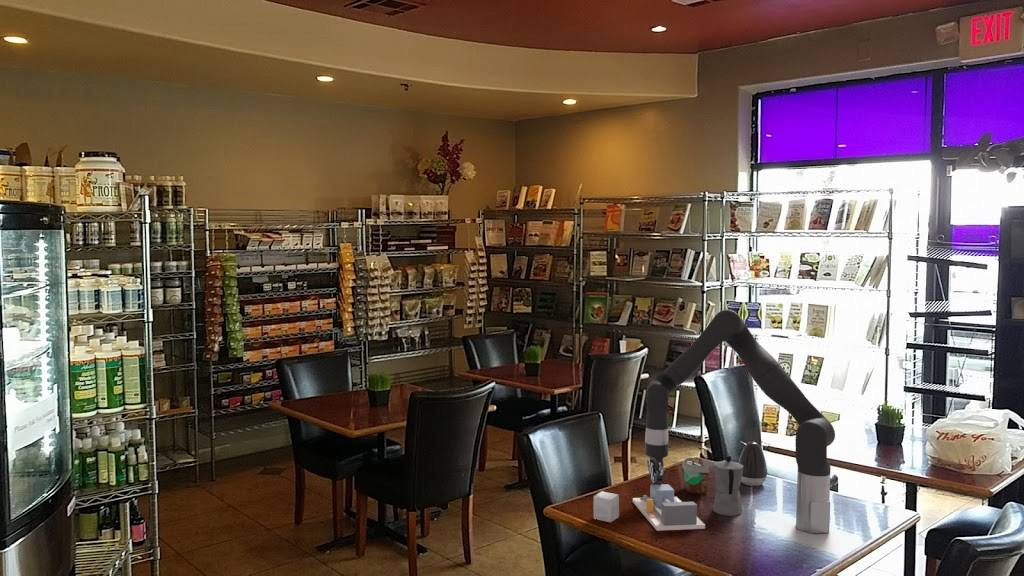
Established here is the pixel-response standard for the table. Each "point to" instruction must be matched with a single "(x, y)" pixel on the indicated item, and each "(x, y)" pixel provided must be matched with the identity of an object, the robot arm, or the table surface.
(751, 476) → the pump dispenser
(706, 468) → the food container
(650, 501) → the block
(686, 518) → the bench
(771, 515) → the table surface
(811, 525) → the robot arm
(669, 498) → the plunger
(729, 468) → the coffeepot
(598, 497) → the skincare box
